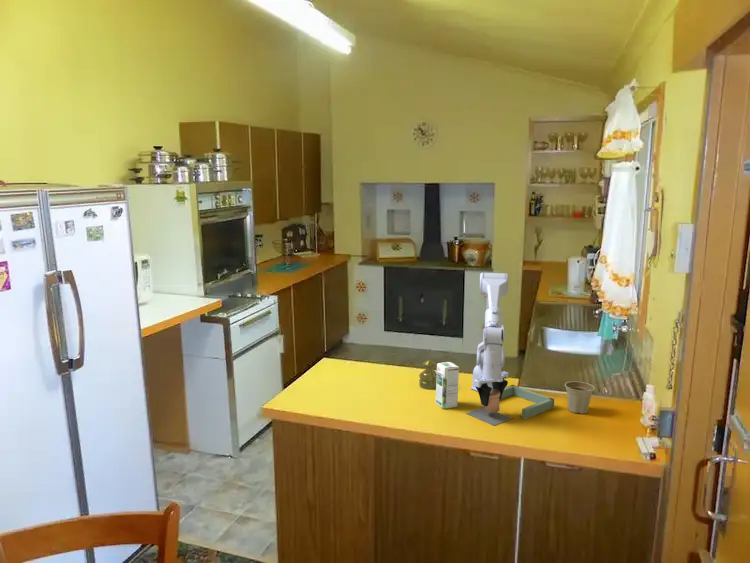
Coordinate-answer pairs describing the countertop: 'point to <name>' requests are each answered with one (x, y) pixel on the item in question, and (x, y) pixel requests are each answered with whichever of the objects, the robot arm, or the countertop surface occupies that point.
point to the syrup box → (447, 385)
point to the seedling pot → (493, 402)
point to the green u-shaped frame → (540, 400)
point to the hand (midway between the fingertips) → (490, 403)
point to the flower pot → (578, 396)
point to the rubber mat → (489, 416)
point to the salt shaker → (428, 376)
